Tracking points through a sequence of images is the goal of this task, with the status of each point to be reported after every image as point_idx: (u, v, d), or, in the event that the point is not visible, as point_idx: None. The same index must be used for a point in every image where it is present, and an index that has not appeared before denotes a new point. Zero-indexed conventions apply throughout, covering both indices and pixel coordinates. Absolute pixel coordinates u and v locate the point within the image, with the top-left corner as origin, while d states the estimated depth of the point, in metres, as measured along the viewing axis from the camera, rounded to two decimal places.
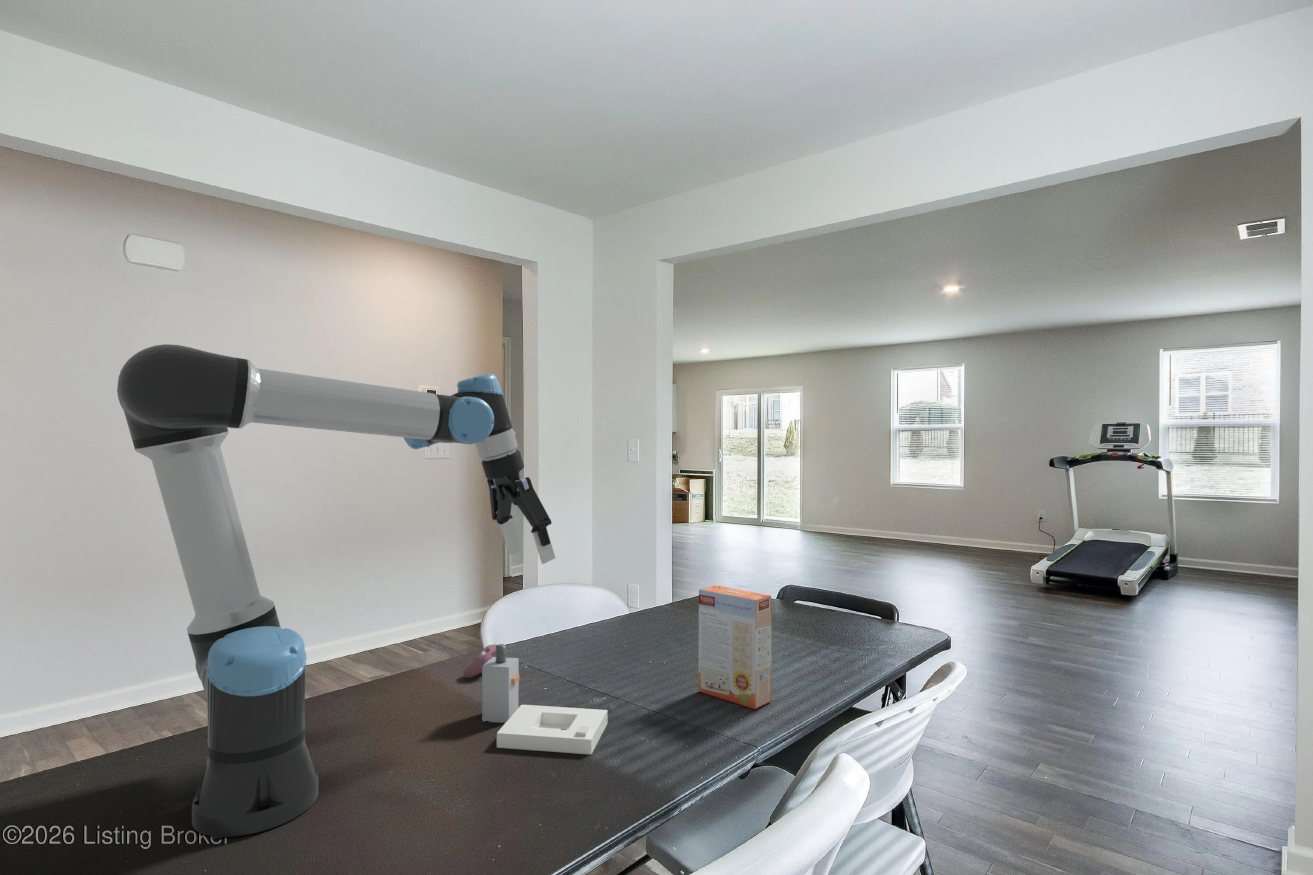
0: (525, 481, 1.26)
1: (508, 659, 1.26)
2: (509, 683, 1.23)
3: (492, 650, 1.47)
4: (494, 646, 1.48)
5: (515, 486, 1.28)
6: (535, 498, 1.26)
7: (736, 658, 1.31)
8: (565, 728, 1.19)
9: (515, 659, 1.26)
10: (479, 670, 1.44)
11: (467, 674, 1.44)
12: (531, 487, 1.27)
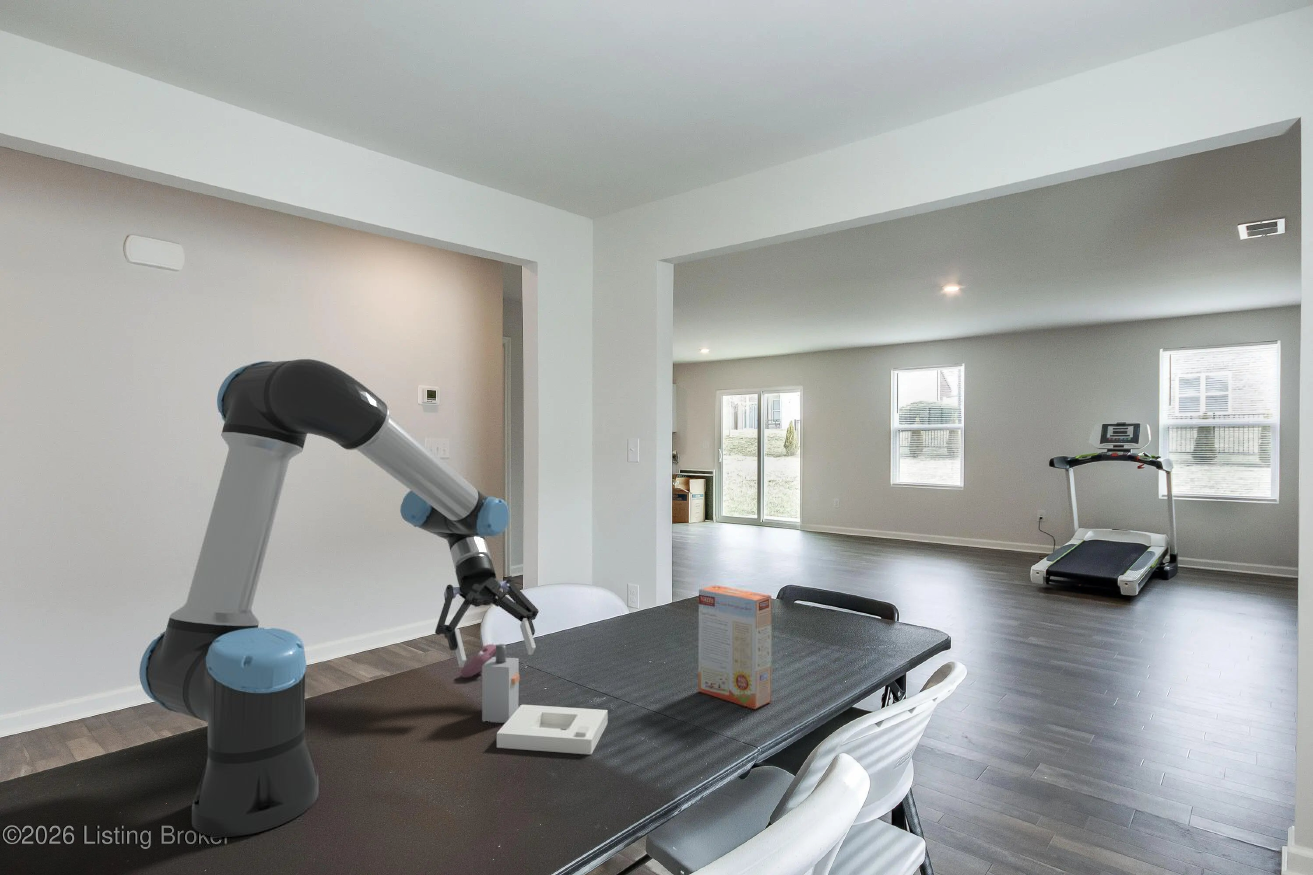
0: None
1: (508, 659, 1.26)
2: (509, 683, 1.23)
3: (490, 650, 1.47)
4: (492, 646, 1.49)
5: (500, 584, 1.40)
6: None
7: (736, 658, 1.31)
8: (565, 728, 1.19)
9: (515, 659, 1.26)
10: (477, 670, 1.44)
11: (465, 674, 1.44)
12: None
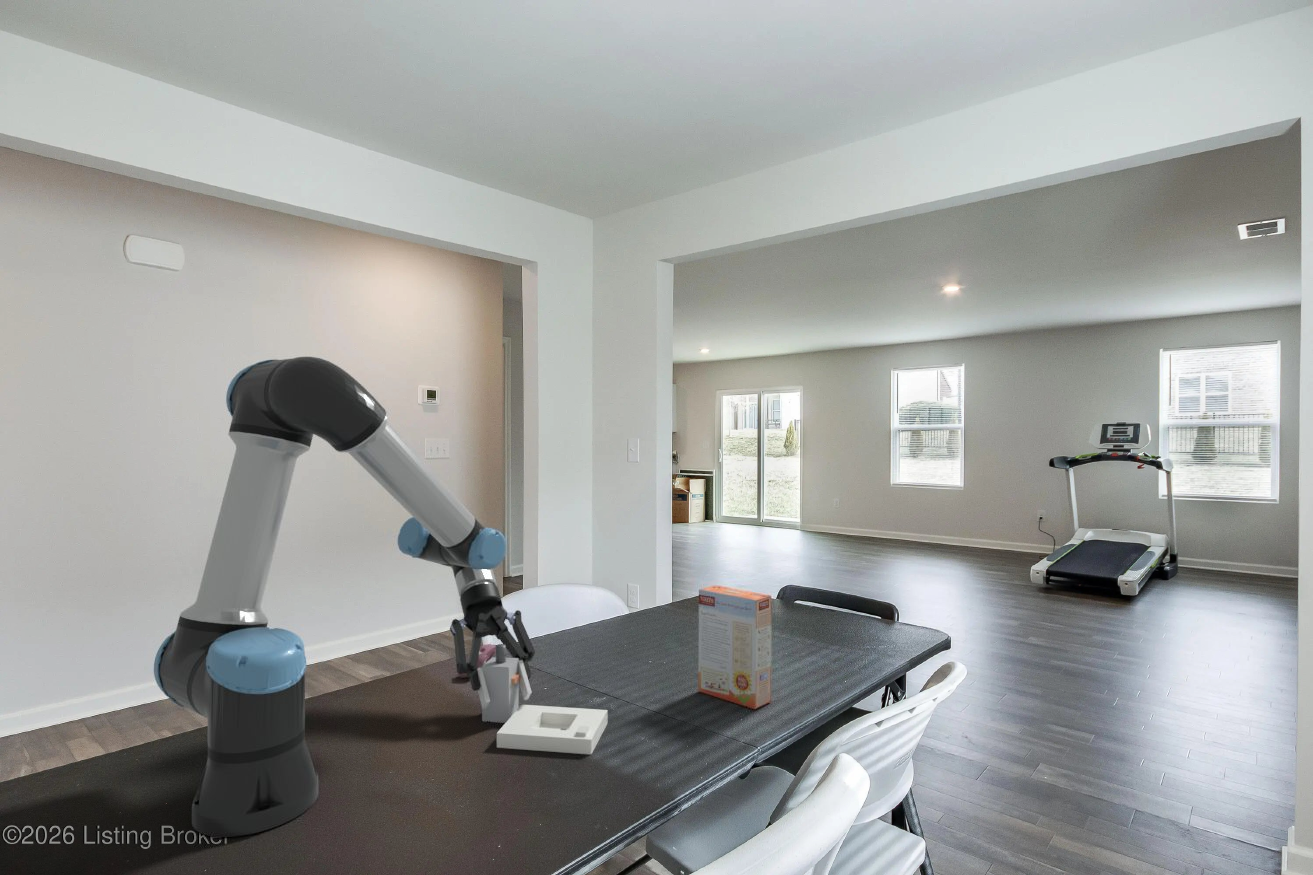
0: None
1: (508, 659, 1.26)
2: (509, 683, 1.23)
3: (487, 650, 1.47)
4: (489, 646, 1.49)
5: (506, 615, 1.34)
6: None
7: (736, 658, 1.31)
8: (565, 728, 1.19)
9: (515, 659, 1.26)
10: None
11: (463, 673, 1.44)
12: None
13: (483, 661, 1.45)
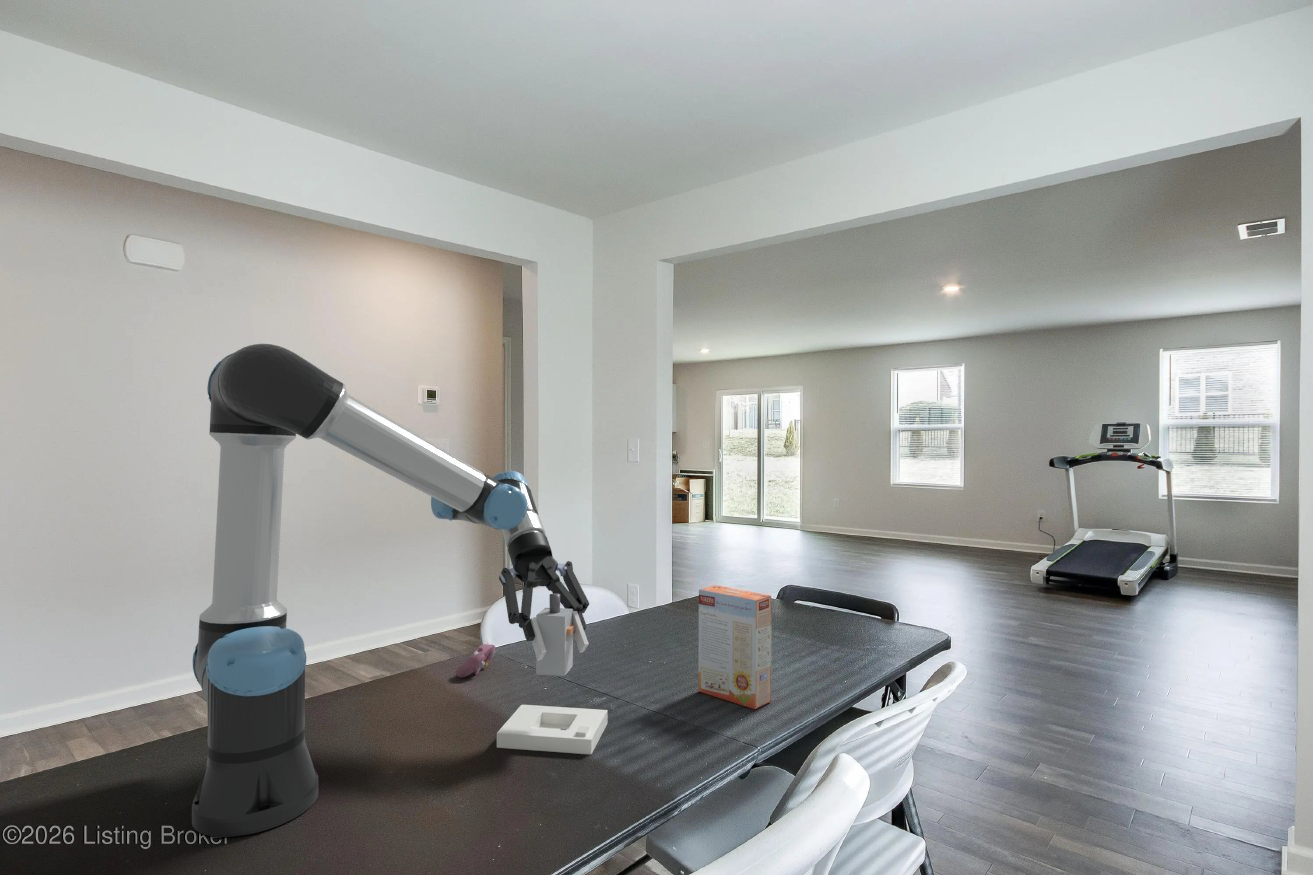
0: None
1: (562, 609, 1.19)
2: (565, 633, 1.15)
3: (485, 650, 1.47)
4: (487, 646, 1.49)
5: (557, 565, 1.26)
6: None
7: (736, 658, 1.31)
8: (565, 728, 1.19)
9: (569, 609, 1.19)
10: (472, 670, 1.44)
11: (460, 673, 1.44)
12: None
13: (481, 661, 1.45)
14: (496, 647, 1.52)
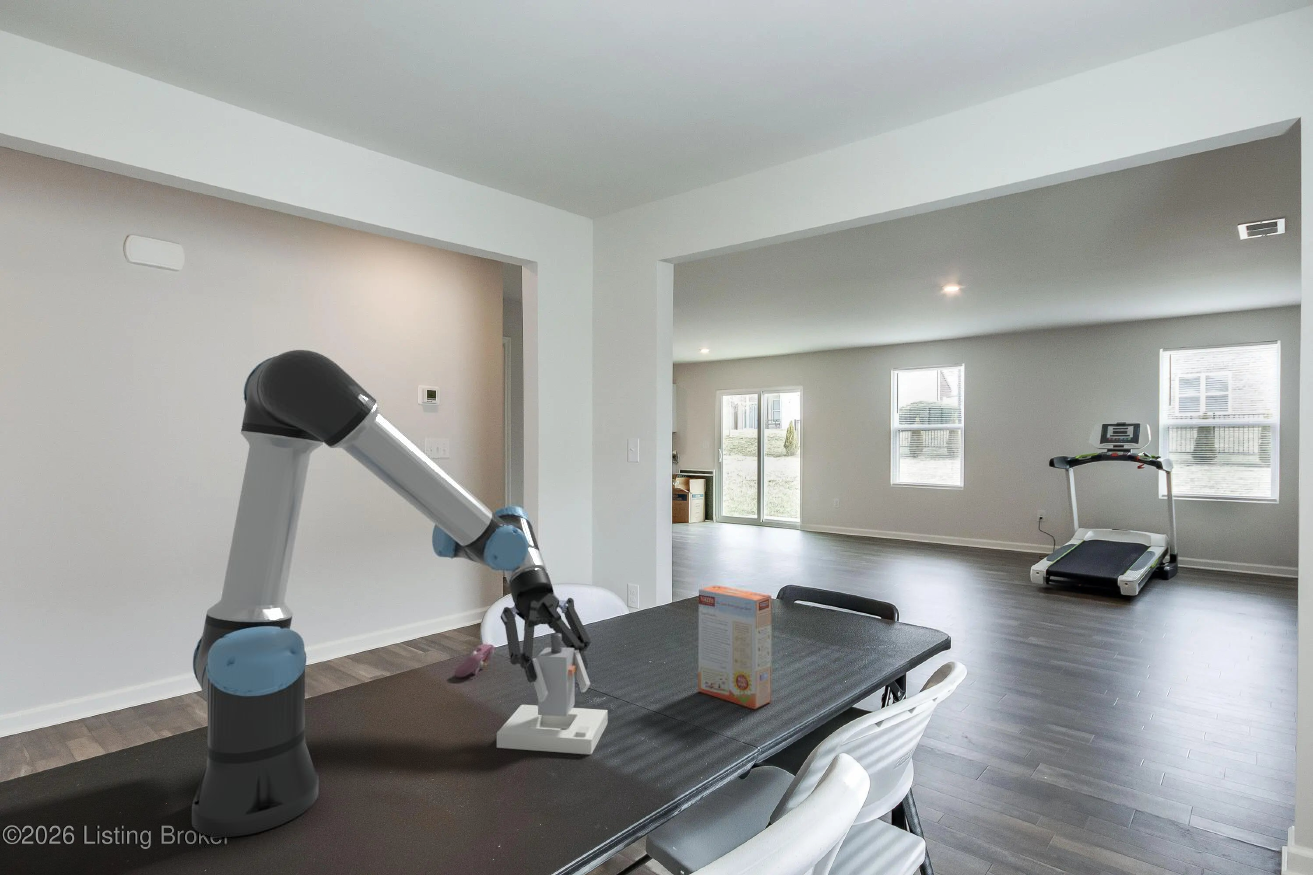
0: None
1: (563, 649, 1.19)
2: (567, 674, 1.15)
3: (484, 650, 1.47)
4: (485, 646, 1.49)
5: (558, 602, 1.26)
6: None
7: (736, 658, 1.31)
8: (565, 728, 1.19)
9: (571, 649, 1.19)
10: (471, 670, 1.44)
11: (459, 673, 1.44)
12: None
13: (479, 661, 1.45)
14: (495, 647, 1.52)
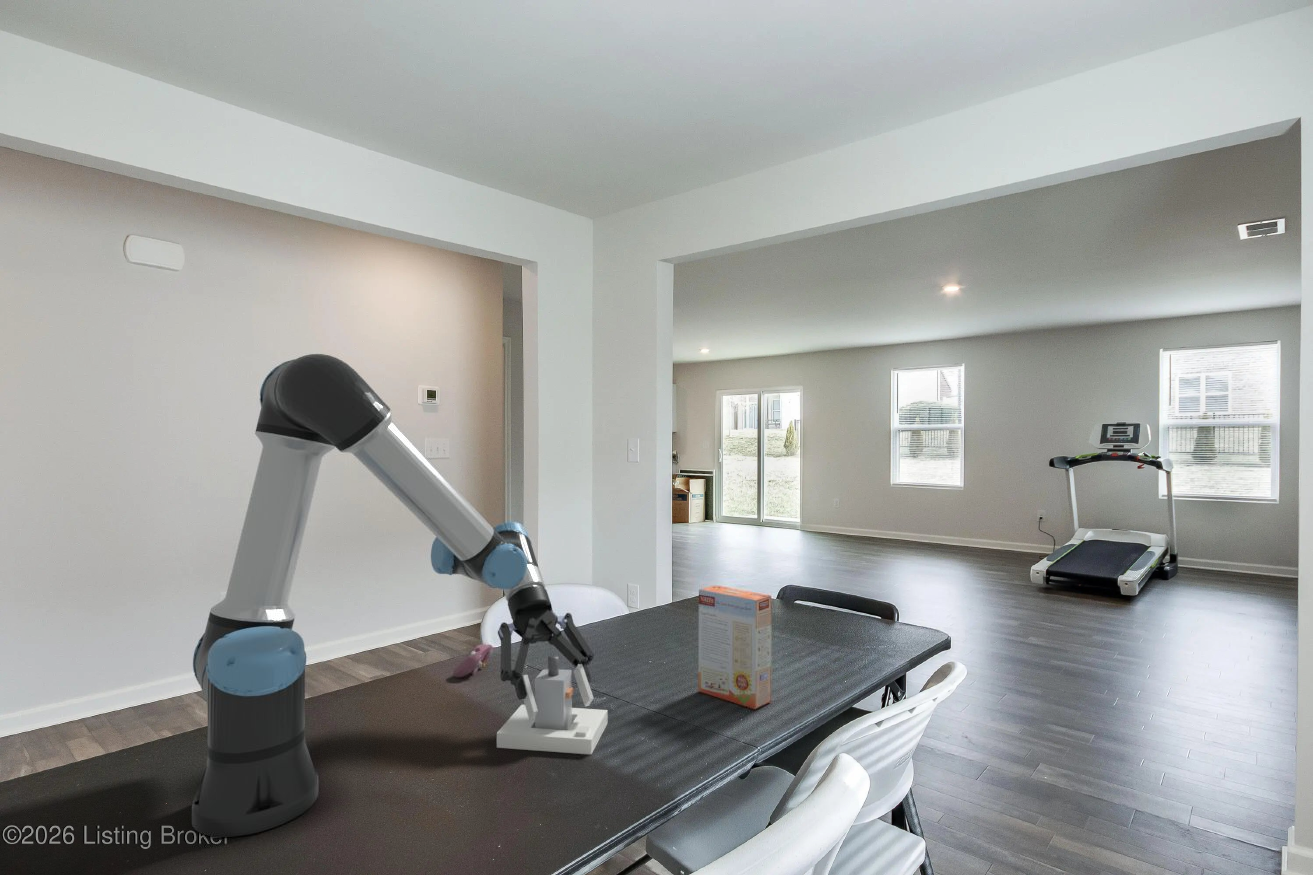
0: None
1: (561, 671, 1.19)
2: (564, 697, 1.15)
3: (482, 650, 1.47)
4: (484, 646, 1.49)
5: (557, 619, 1.26)
6: None
7: (736, 658, 1.31)
8: None
9: (568, 671, 1.19)
10: (469, 670, 1.44)
11: (457, 673, 1.44)
12: None
13: (478, 661, 1.45)
14: (493, 647, 1.52)
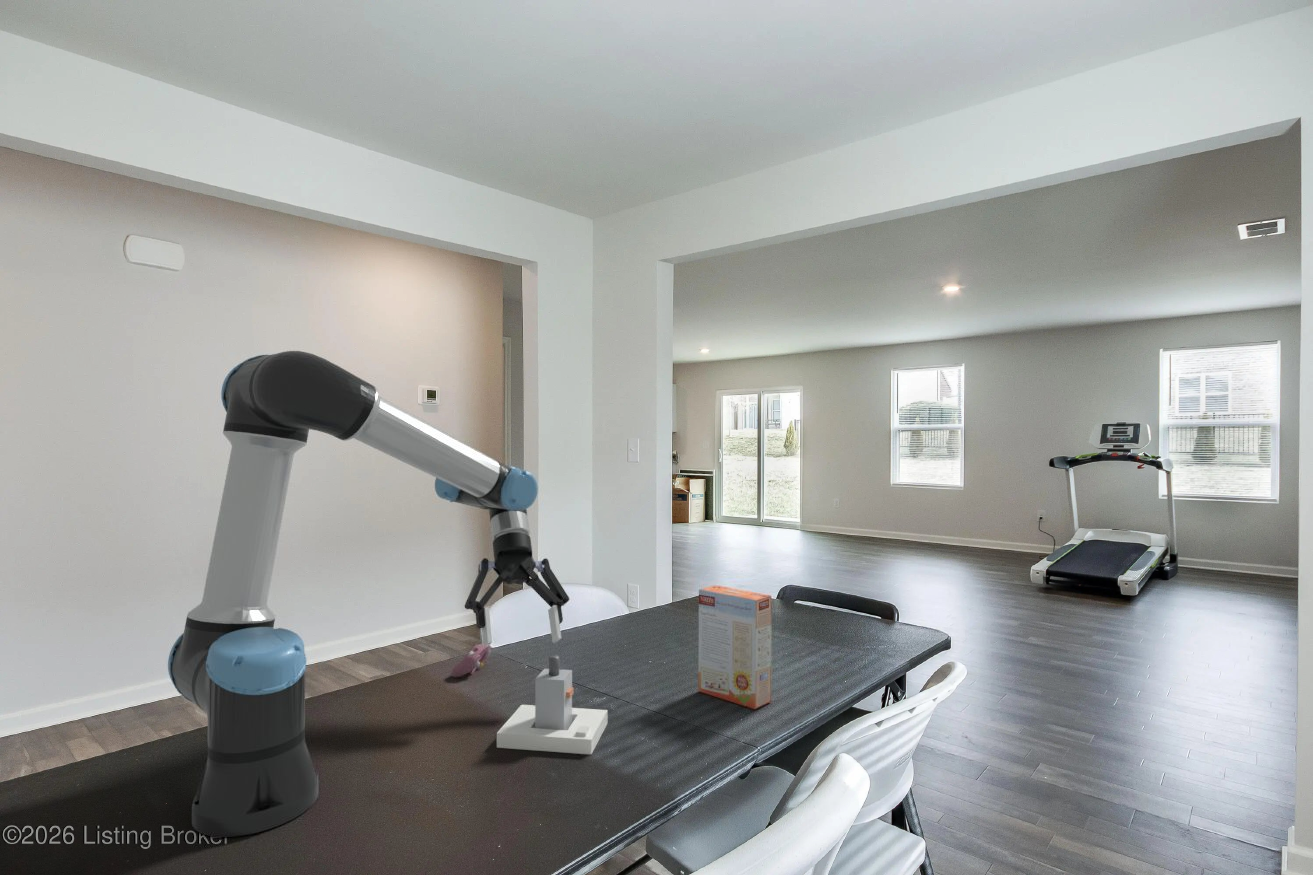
0: None
1: (561, 671, 1.19)
2: (564, 697, 1.15)
3: (480, 650, 1.47)
4: (482, 646, 1.49)
5: (535, 564, 1.37)
6: None
7: (736, 658, 1.31)
8: None
9: (569, 671, 1.19)
10: (467, 670, 1.44)
11: (455, 673, 1.45)
12: None
13: (476, 661, 1.45)
14: (491, 647, 1.52)
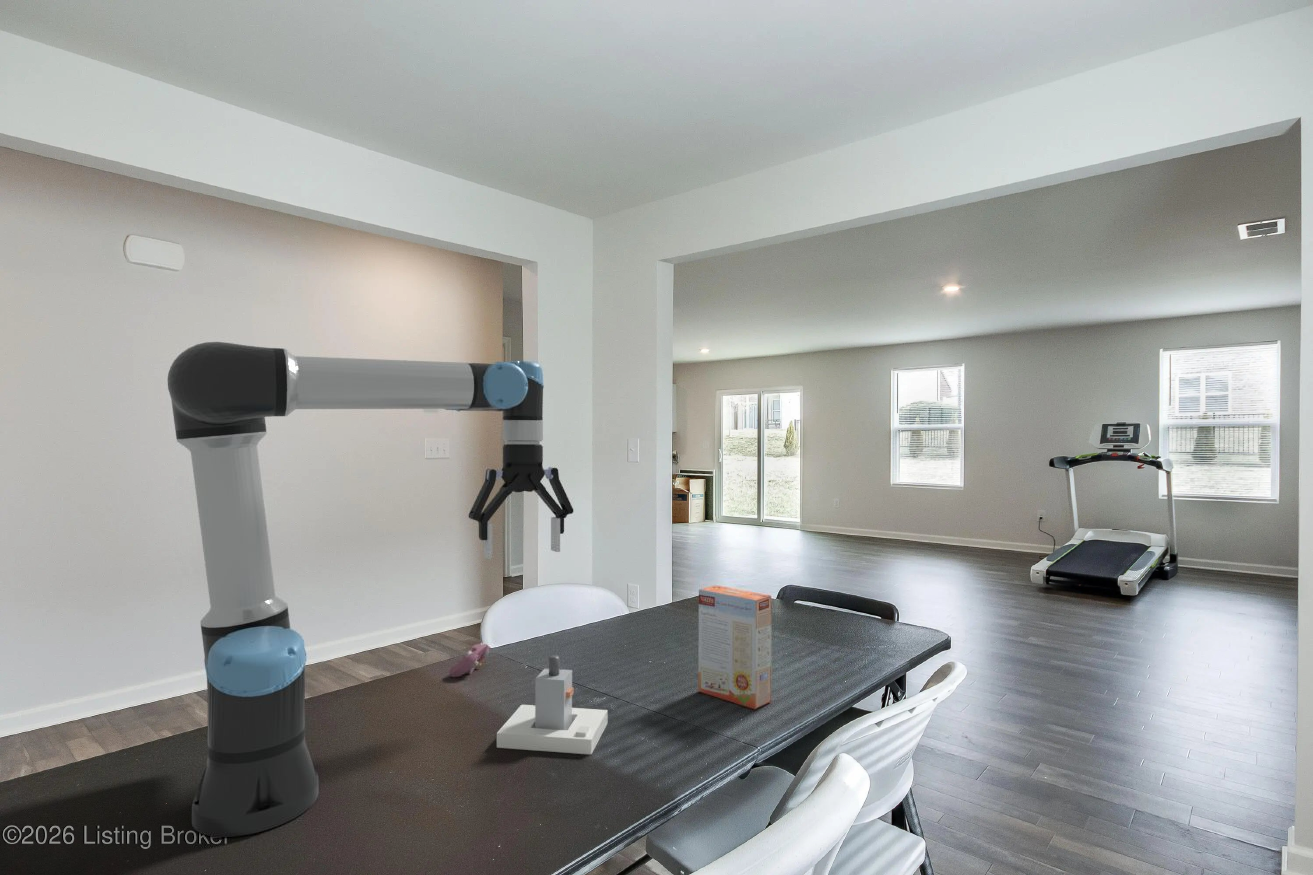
0: None
1: (561, 671, 1.19)
2: (564, 697, 1.15)
3: (478, 650, 1.47)
4: (480, 645, 1.49)
5: (544, 474, 1.32)
6: None
7: (736, 658, 1.31)
8: None
9: (569, 671, 1.19)
10: (465, 669, 1.44)
11: (454, 673, 1.45)
12: None
13: (474, 661, 1.45)
14: (490, 647, 1.52)
